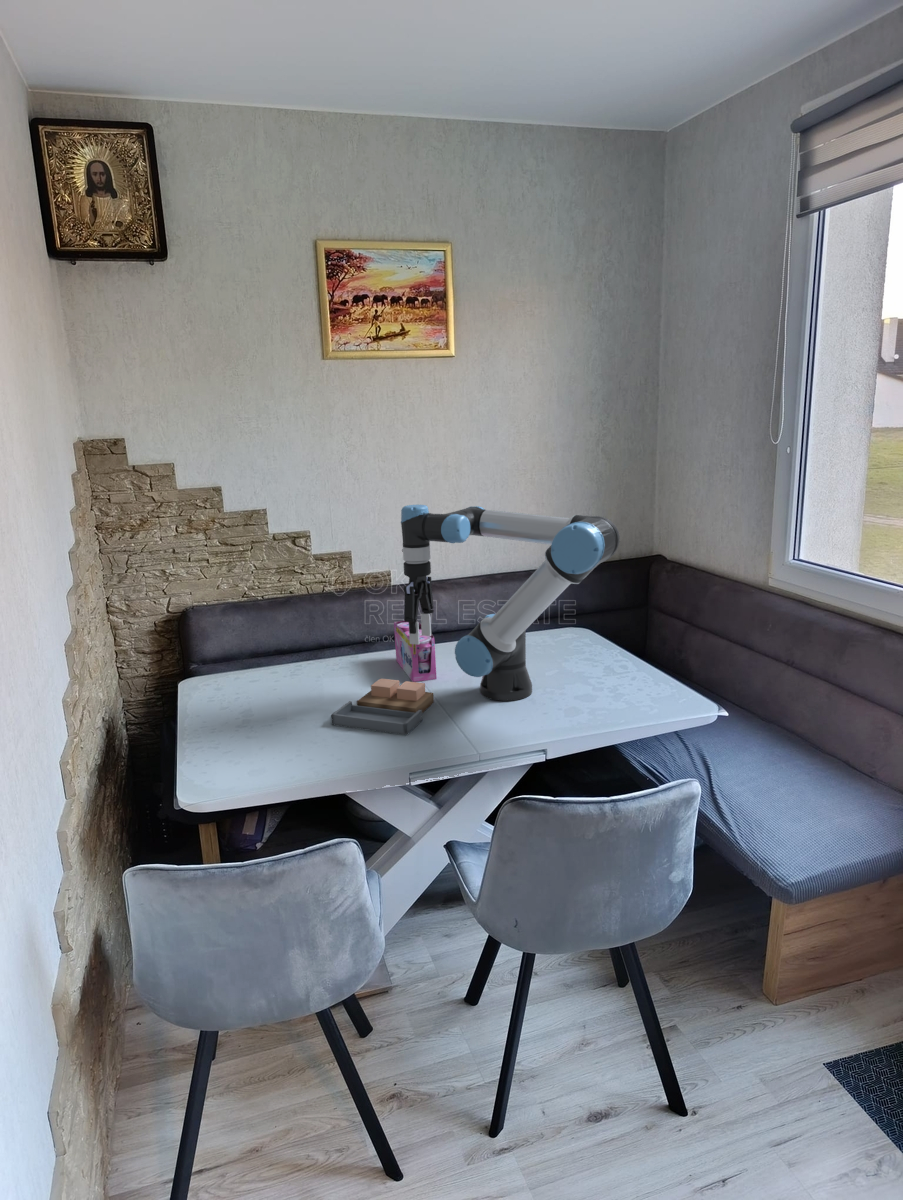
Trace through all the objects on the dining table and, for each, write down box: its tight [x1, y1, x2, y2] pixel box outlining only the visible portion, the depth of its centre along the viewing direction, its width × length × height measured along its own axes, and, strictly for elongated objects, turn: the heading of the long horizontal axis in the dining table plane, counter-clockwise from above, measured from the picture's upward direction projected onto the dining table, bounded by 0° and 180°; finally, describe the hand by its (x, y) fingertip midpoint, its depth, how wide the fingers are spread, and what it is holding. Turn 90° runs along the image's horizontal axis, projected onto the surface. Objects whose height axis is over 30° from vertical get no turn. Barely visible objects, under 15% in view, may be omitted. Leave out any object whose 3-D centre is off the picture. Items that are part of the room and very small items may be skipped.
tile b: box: [370, 678, 401, 698], centre depth 218 cm, size 6×6×3 cm
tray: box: [330, 700, 423, 736], centre depth 205 cm, size 22×10×3 cm, turn 68°
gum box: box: [393, 620, 437, 682], centre depth 244 cm, size 24×8×14 cm, turn 18°
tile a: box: [397, 680, 426, 701], centre depth 215 cm, size 6×6×3 cm
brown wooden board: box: [356, 690, 435, 714], centre depth 216 cm, size 18×12×3 cm, turn 68°
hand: (420, 639), depth 219 cm, fingers open, 8 cm apart
